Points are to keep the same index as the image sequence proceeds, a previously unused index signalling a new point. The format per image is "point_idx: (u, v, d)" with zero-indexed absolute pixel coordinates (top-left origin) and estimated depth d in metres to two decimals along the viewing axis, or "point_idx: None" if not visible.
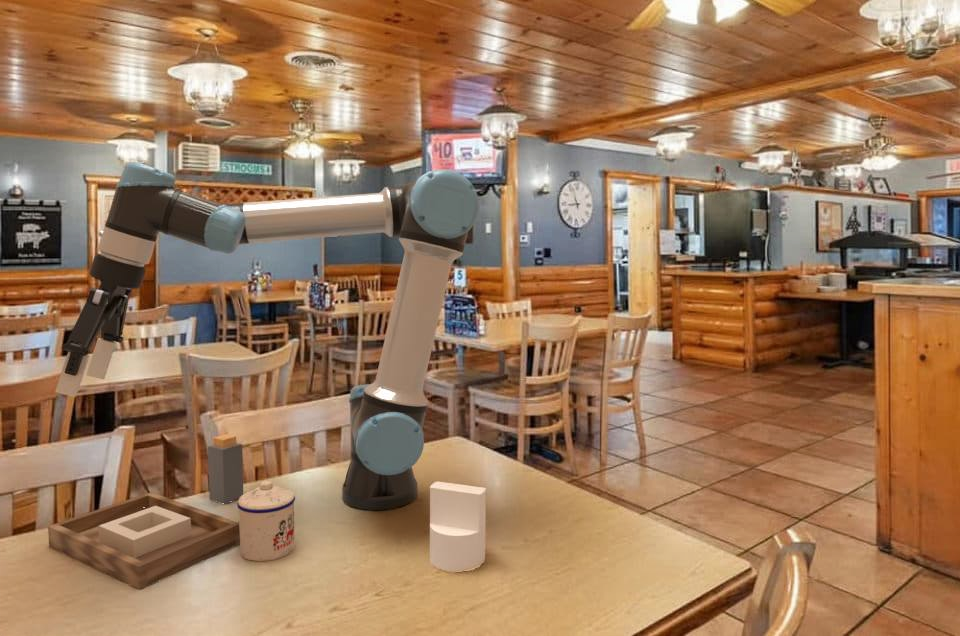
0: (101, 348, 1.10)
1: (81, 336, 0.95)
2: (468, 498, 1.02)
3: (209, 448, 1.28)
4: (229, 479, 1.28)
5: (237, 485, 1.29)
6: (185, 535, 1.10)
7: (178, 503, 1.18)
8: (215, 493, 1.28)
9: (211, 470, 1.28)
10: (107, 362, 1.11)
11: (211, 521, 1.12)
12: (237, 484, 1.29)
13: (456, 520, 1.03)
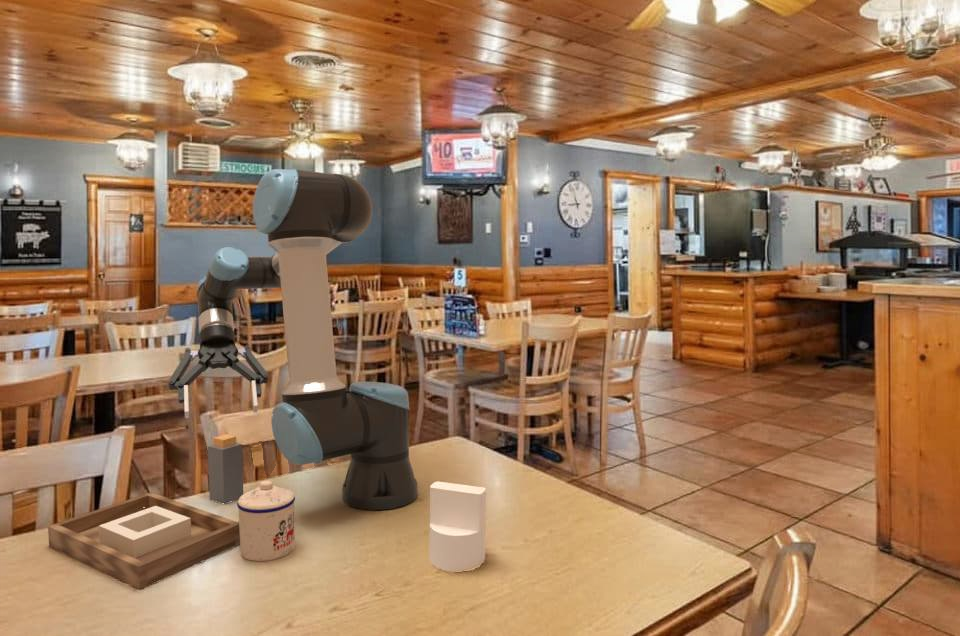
0: (251, 390, 1.44)
1: None
2: (468, 497, 1.02)
3: (209, 448, 1.28)
4: (229, 479, 1.28)
5: (237, 485, 1.29)
6: (185, 535, 1.10)
7: (178, 503, 1.18)
8: (215, 493, 1.28)
9: (211, 470, 1.28)
10: (252, 394, 1.41)
11: (211, 521, 1.12)
12: (237, 484, 1.29)
13: (456, 520, 1.03)
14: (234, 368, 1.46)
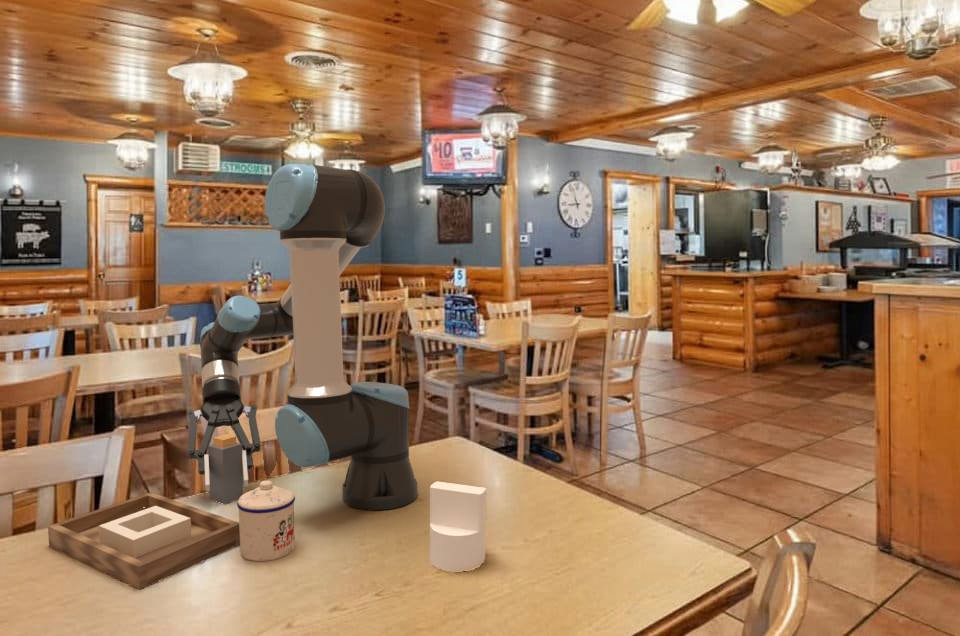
0: None
1: None
2: (468, 497, 1.02)
3: (209, 448, 1.28)
4: (229, 479, 1.28)
5: (237, 485, 1.29)
6: (185, 535, 1.10)
7: (178, 503, 1.18)
8: (215, 493, 1.28)
9: (211, 470, 1.28)
10: (243, 466, 1.28)
11: (211, 521, 1.12)
12: (237, 484, 1.29)
13: (456, 520, 1.03)
14: (233, 428, 1.35)
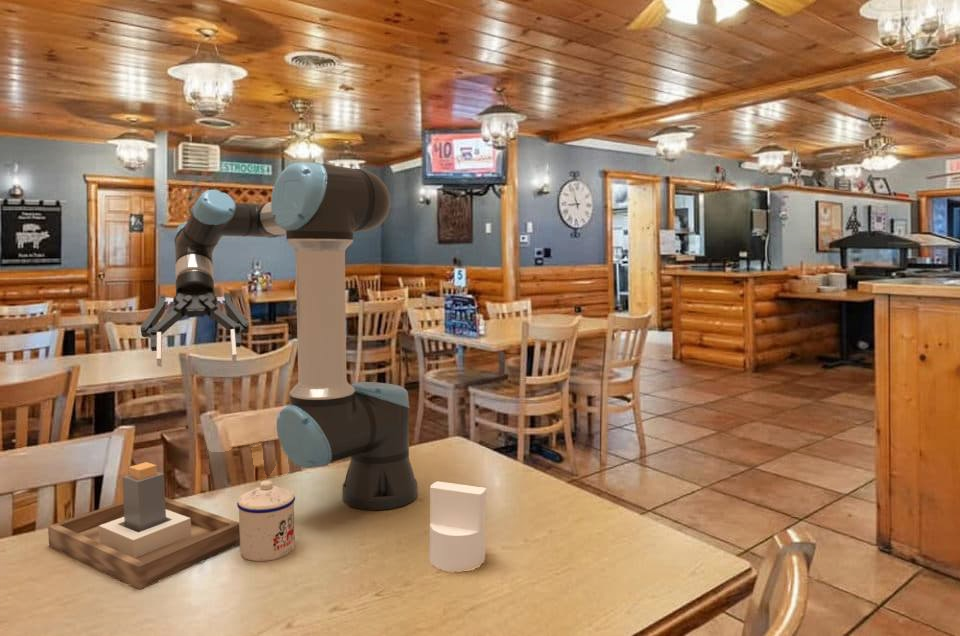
0: None
1: None
2: (468, 497, 1.02)
3: (124, 479, 1.07)
4: (148, 516, 1.07)
5: (158, 523, 1.09)
6: (185, 535, 1.10)
7: (178, 503, 1.18)
8: None
9: (126, 506, 1.08)
10: (231, 343, 1.32)
11: (211, 521, 1.12)
12: (158, 522, 1.09)
13: (456, 520, 1.03)
14: (212, 317, 1.37)
